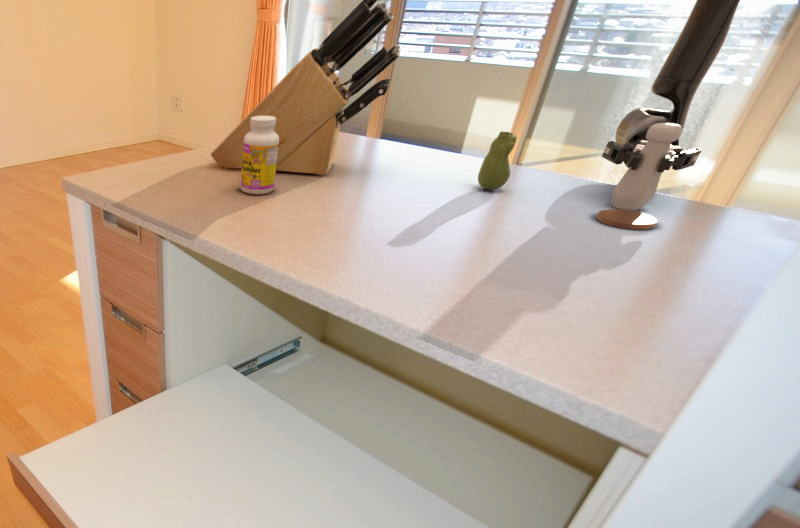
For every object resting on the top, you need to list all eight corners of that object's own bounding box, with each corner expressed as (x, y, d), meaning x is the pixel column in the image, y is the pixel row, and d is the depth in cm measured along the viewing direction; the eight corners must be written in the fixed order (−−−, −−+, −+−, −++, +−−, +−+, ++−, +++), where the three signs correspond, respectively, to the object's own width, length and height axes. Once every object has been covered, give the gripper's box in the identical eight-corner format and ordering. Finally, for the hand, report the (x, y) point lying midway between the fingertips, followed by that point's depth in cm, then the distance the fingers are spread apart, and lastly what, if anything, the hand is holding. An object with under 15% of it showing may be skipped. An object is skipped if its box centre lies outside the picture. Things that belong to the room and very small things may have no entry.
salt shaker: (602, 207, 95) (641, 124, 87) (611, 200, 98) (650, 119, 90) (642, 214, 91) (686, 128, 83) (650, 206, 94) (694, 123, 86)
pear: (474, 184, 108) (493, 127, 101) (504, 187, 106) (525, 129, 99) (473, 191, 104) (491, 133, 98) (503, 194, 102) (525, 135, 96)
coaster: (654, 218, 89) (657, 214, 89) (654, 233, 84) (657, 227, 84) (597, 211, 93) (599, 206, 93) (594, 224, 88) (596, 219, 88)
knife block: (372, 180, 111) (414, -12, 92) (209, 168, 121) (215, -7, 102) (376, 167, 119) (414, -12, 100) (223, 157, 130) (231, -7, 110)
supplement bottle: (233, 190, 108) (237, 117, 100) (256, 184, 111) (262, 113, 103) (257, 197, 103) (264, 122, 95) (280, 191, 107) (289, 117, 99)
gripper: (613, 118, 100) (609, 135, 89) (711, 124, 93) (720, 143, 82) (594, 162, 104) (588, 183, 93) (686, 171, 98) (691, 194, 87)
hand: (650, 164), depth 88 cm, fingers closed on salt shaker, 3 cm apart
